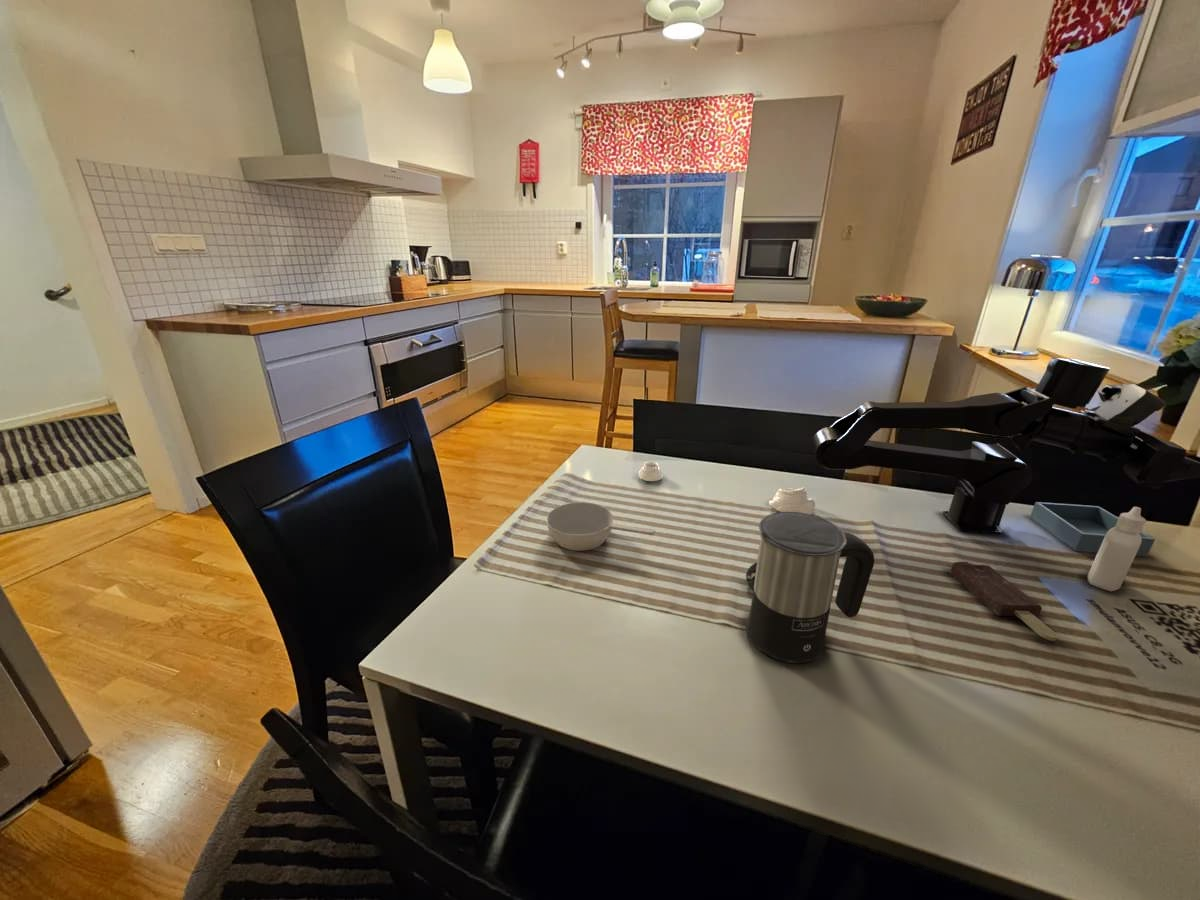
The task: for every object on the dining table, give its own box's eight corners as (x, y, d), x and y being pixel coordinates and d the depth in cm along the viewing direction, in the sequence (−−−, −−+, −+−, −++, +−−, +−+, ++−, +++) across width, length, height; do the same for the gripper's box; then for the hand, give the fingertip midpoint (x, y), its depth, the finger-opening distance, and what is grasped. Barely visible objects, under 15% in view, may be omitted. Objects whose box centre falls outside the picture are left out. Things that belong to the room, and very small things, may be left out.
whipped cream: (774, 521, 88) (777, 498, 85) (762, 501, 94) (764, 479, 91) (819, 518, 88) (823, 495, 85) (803, 498, 94) (806, 476, 91)
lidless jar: (662, 473, 105) (638, 472, 105) (662, 460, 104) (639, 459, 104) (662, 483, 100) (638, 482, 101) (663, 470, 99) (638, 468, 100)
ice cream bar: (1073, 644, 59) (980, 570, 73) (1078, 633, 58) (983, 560, 72) (1029, 644, 59) (945, 570, 73) (1034, 633, 58) (948, 561, 72)
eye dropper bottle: (1070, 574, 72) (1102, 501, 67) (1102, 571, 73) (1135, 499, 68) (1103, 593, 68) (1139, 517, 63) (1137, 589, 69) (1174, 514, 64)
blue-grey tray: (1075, 550, 78) (1082, 533, 77) (1029, 517, 88) (1035, 501, 87) (1147, 556, 76) (1155, 539, 75) (1092, 521, 87) (1099, 506, 85)
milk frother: (784, 676, 54) (806, 562, 49) (695, 595, 67) (704, 497, 62) (868, 634, 60) (896, 529, 55) (772, 567, 73) (786, 477, 68)
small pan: (565, 515, 87) (564, 496, 86) (662, 536, 81) (664, 515, 80) (535, 545, 78) (534, 524, 77) (643, 571, 72) (644, 549, 70)
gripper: (1139, 400, 65) (1288, 433, 61) (1071, 366, 81) (1186, 391, 77) (1088, 472, 70) (1223, 507, 66) (1033, 427, 86) (1139, 452, 82)
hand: (1191, 459), depth 73 cm, fingers open, 9 cm apart
